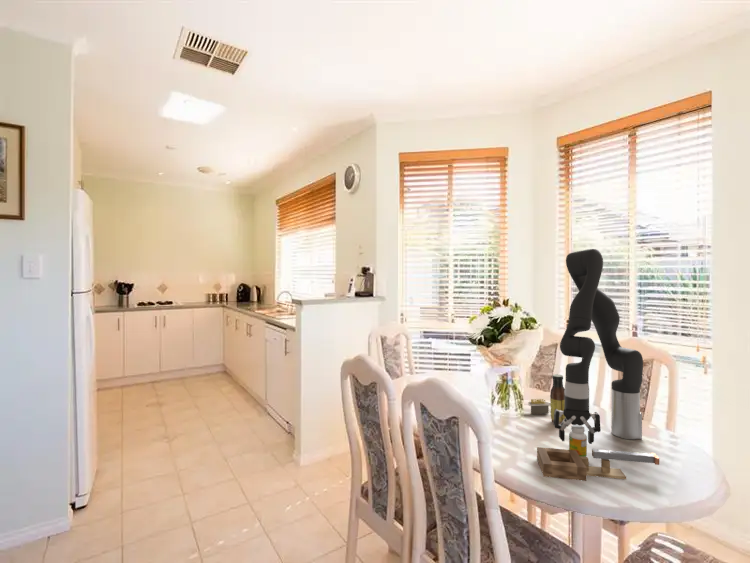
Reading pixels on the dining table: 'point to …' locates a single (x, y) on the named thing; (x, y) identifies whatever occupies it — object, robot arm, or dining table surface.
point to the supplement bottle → (578, 440)
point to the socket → (561, 464)
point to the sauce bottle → (557, 396)
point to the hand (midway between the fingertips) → (576, 441)
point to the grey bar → (625, 456)
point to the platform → (539, 406)
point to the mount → (602, 469)
